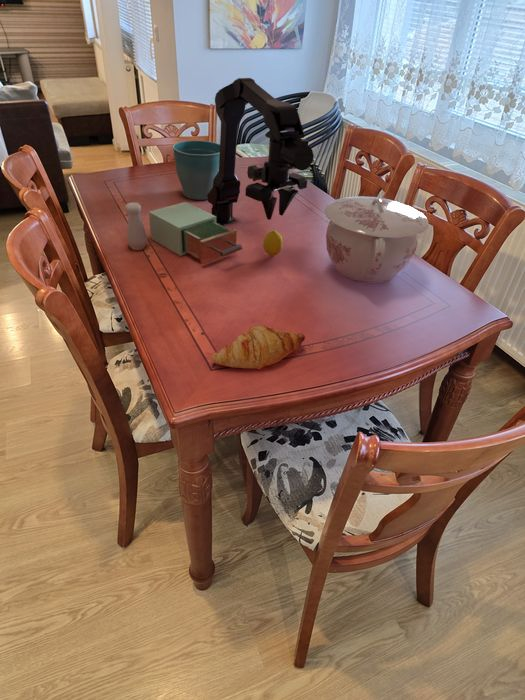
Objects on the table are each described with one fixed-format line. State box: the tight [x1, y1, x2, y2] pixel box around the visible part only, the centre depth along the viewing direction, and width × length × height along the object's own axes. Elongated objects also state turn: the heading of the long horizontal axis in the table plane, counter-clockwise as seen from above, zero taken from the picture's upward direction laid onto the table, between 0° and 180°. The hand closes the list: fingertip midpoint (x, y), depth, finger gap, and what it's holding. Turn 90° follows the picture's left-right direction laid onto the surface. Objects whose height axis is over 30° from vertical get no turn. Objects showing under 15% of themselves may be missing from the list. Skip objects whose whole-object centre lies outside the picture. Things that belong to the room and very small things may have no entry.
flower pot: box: [172, 139, 220, 201], centre depth 169 cm, size 18×18×17 cm
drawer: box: [181, 220, 243, 266], centre depth 133 cm, size 19×12×7 cm, turn 45°
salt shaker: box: [125, 201, 148, 251], centre depth 133 cm, size 6×6×13 cm
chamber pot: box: [323, 195, 429, 284], centre depth 127 cm, size 28×28×21 cm
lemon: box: [263, 229, 284, 257], centre depth 135 cm, size 6×6×8 cm
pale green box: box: [148, 201, 216, 257], centre depth 139 cm, size 15×14×9 cm
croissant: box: [211, 325, 306, 370], centre depth 98 cm, size 21×10×8 cm, turn 115°
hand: (274, 217), depth 130 cm, fingers open, 5 cm apart
